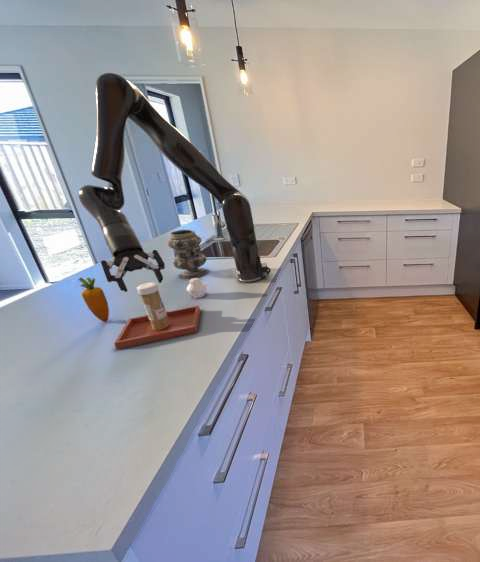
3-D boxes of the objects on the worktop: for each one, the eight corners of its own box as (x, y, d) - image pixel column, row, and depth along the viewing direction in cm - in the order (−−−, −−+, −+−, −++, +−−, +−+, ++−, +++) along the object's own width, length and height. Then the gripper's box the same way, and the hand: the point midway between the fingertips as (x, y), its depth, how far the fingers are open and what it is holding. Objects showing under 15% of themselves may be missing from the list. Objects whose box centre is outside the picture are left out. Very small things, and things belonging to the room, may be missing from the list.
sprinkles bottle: (171, 327, 87) (156, 286, 82) (152, 332, 85) (135, 290, 79) (170, 320, 91) (156, 280, 85) (152, 325, 88) (136, 284, 83)
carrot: (119, 319, 93) (100, 274, 87) (102, 327, 89) (80, 281, 83) (109, 316, 95) (89, 273, 88) (91, 324, 90) (69, 279, 84)
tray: (200, 310, 97) (198, 305, 96) (196, 332, 86) (194, 326, 85) (131, 324, 90) (128, 318, 89) (116, 349, 79) (114, 343, 78)
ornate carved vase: (215, 271, 128) (204, 230, 120) (186, 281, 119) (173, 237, 111) (199, 266, 134) (188, 226, 126) (171, 275, 125) (157, 233, 117)
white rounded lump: (211, 295, 107) (206, 277, 104) (193, 301, 103) (187, 283, 100) (205, 290, 111) (200, 273, 108) (186, 296, 107) (181, 278, 104)
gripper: (89, 239, 84) (111, 288, 81) (149, 229, 93) (171, 273, 90) (94, 253, 89) (115, 299, 87) (151, 242, 98) (171, 284, 96)
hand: (143, 285), depth 88 cm, fingers open, 8 cm apart
